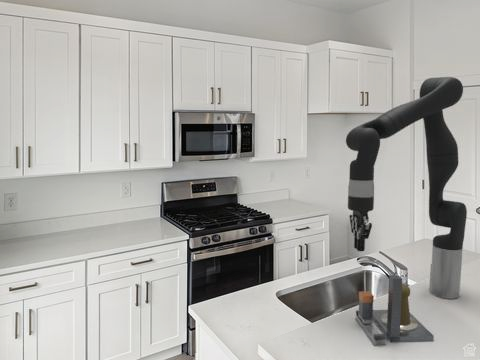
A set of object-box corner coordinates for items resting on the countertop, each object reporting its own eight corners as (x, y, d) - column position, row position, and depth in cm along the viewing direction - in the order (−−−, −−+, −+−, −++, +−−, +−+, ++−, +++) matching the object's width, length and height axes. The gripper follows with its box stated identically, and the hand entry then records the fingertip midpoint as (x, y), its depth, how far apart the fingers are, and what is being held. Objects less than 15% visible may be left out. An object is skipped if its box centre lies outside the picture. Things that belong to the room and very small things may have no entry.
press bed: (368, 314, 121) (370, 259, 118) (406, 313, 121) (408, 258, 119) (390, 342, 105) (393, 278, 103) (433, 340, 105) (437, 277, 103)
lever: (357, 315, 116) (357, 290, 115) (367, 315, 116) (368, 290, 115) (363, 323, 111) (363, 297, 110) (373, 323, 111) (374, 297, 110)
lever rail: (355, 318, 118) (355, 310, 118) (365, 318, 118) (365, 310, 118) (374, 345, 103) (374, 336, 103) (385, 345, 103) (385, 335, 103)
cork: (404, 315, 116) (406, 280, 114) (414, 325, 110) (416, 288, 109) (384, 316, 116) (386, 281, 114) (393, 326, 110) (395, 289, 108)
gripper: (382, 197, 110) (380, 256, 112) (364, 190, 123) (363, 243, 125) (356, 198, 109) (354, 257, 111) (341, 191, 123) (340, 243, 125)
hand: (359, 249), depth 118 cm, fingers closed
